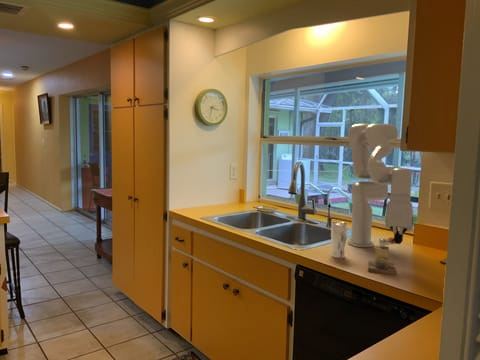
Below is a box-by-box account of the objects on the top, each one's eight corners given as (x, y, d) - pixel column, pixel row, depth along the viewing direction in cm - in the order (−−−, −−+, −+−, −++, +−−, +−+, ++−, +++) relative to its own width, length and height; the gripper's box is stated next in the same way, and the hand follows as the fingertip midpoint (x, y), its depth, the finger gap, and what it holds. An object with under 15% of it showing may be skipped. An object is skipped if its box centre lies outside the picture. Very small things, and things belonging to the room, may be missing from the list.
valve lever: (383, 248, 155) (384, 240, 154) (377, 247, 157) (378, 239, 156) (396, 244, 161) (396, 237, 160) (390, 243, 163) (391, 235, 162)
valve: (368, 264, 164) (369, 243, 163) (393, 267, 160) (395, 245, 160) (367, 271, 154) (369, 249, 153) (395, 275, 151) (396, 252, 150)
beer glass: (334, 252, 179) (335, 220, 178) (348, 255, 175) (350, 223, 173) (327, 256, 174) (328, 223, 172) (341, 259, 170) (343, 225, 168)
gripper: (378, 197, 159) (376, 242, 160) (417, 201, 150) (414, 248, 151) (384, 196, 165) (382, 238, 166) (422, 199, 155) (420, 244, 157)
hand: (398, 243), depth 159 cm, fingers closed
